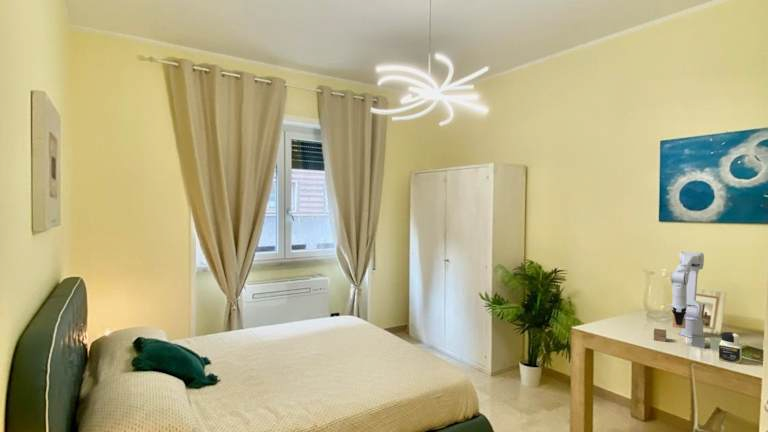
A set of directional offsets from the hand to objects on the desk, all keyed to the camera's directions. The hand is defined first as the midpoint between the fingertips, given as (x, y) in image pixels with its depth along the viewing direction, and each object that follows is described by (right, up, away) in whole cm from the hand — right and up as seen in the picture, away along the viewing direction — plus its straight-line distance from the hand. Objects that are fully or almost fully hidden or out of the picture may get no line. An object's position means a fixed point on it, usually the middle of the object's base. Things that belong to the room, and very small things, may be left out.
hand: (679, 323), depth 203 cm
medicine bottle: (+8, -11, -21) cm, 25 cm away
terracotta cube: (0, -2, 0) cm, 2 cm away
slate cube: (+8, -11, -2) cm, 13 cm away
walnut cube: (-5, -10, +7) cm, 14 cm away
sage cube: (+13, -11, -7) cm, 18 cm away
